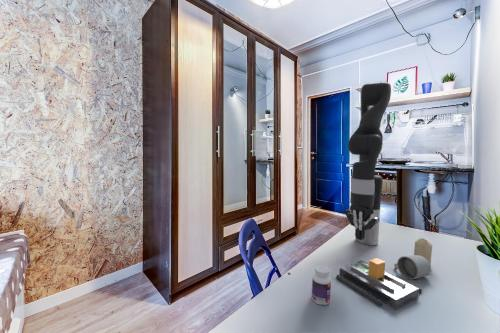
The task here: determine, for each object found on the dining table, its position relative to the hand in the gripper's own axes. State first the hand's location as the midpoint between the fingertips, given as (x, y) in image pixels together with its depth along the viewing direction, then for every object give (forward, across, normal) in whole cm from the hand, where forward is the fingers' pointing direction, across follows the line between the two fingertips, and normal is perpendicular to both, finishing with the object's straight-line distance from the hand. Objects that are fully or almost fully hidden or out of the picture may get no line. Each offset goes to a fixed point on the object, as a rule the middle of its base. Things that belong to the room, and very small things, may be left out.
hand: (359, 239), depth 83 cm
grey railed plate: (+14, +7, 0) cm, 15 cm away
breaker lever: (+11, +7, 0) cm, 13 cm away
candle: (+14, +6, +31) cm, 34 cm away
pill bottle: (+14, +4, -22) cm, 26 cm away
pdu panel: (+14, +7, 0) cm, 15 cm away
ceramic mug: (+14, +8, +18) cm, 24 cm away
